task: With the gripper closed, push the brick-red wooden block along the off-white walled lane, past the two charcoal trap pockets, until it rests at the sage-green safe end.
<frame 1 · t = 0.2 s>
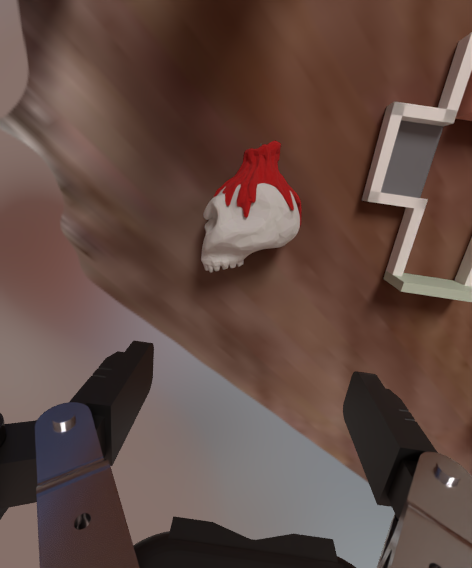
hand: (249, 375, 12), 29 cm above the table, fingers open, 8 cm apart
white and red lump: (253, 207, 38), on the table
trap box: (460, 177, 35), on the table
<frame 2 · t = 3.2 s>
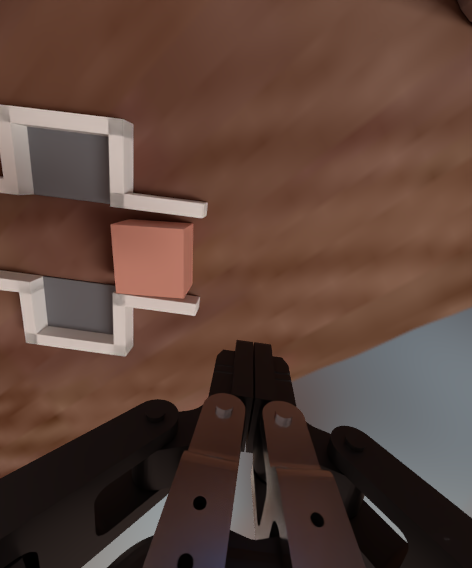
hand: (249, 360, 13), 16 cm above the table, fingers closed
block: (162, 252, 29), on the table
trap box: (70, 240, 29), on the table
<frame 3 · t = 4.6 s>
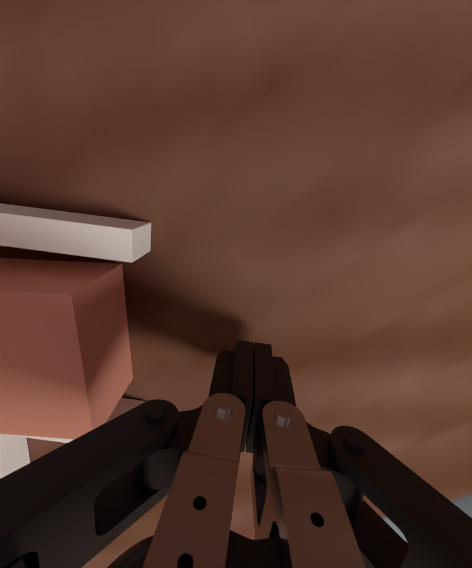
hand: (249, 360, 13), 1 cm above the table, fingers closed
block: (68, 319, 14), on the table
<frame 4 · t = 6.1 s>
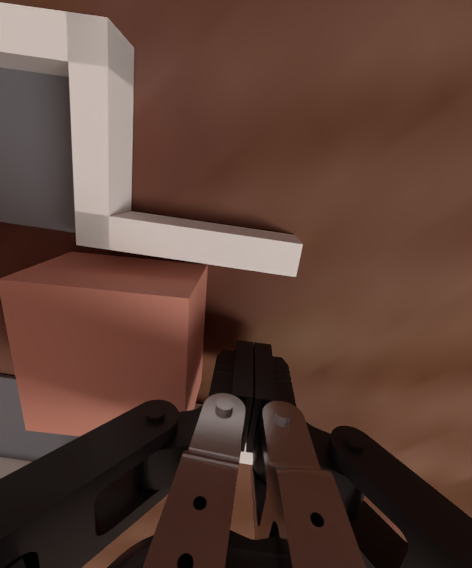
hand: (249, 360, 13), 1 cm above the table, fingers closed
block: (140, 319, 14), on the table, touching gripper
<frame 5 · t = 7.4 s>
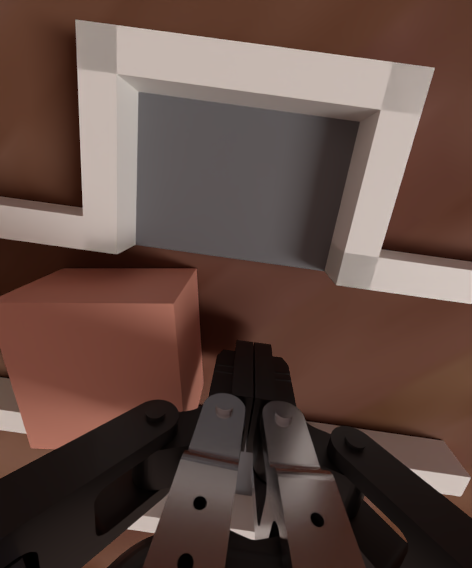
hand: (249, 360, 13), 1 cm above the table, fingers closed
block: (137, 329, 14), on the table, touching gripper
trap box: (198, 336, 14), on the table
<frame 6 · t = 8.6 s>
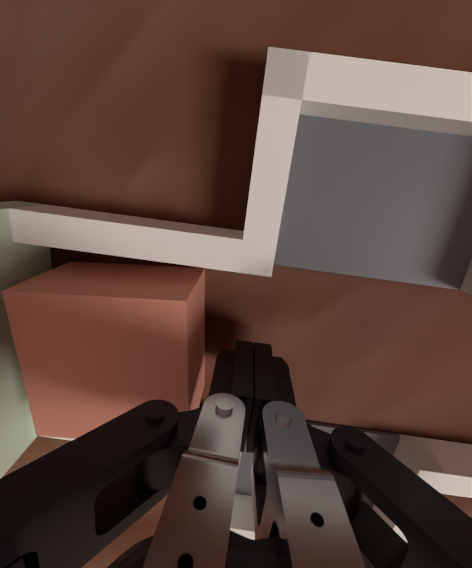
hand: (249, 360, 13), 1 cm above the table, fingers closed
block: (143, 323, 14), on the table, touching gripper
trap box: (318, 353, 14), on the table
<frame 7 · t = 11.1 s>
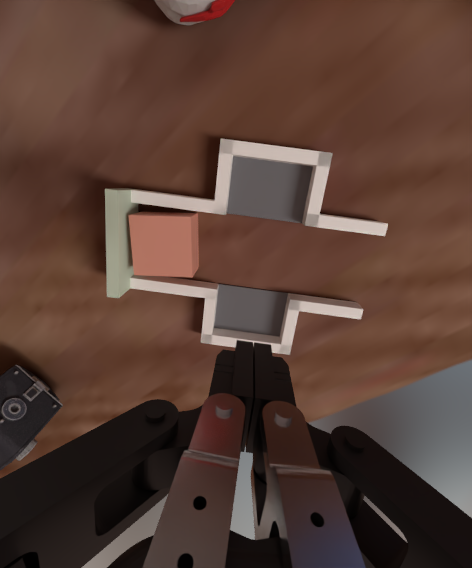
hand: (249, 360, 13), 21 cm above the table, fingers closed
camera: (25, 394, 41), on the table
block: (171, 239, 33), on the table
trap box: (249, 253, 33), on the table
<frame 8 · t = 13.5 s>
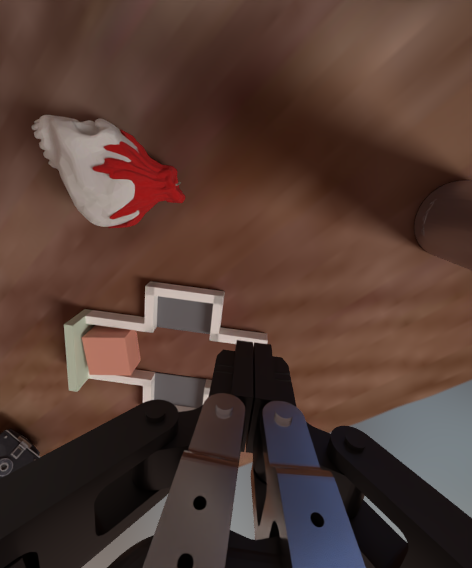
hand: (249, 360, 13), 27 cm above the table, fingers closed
camera: (14, 446, 53), on the table
white and red lump: (131, 178, 37), on the table
block: (119, 342, 45), on the table
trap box: (175, 352, 44), on the table
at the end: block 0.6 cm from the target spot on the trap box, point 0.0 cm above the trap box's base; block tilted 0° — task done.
